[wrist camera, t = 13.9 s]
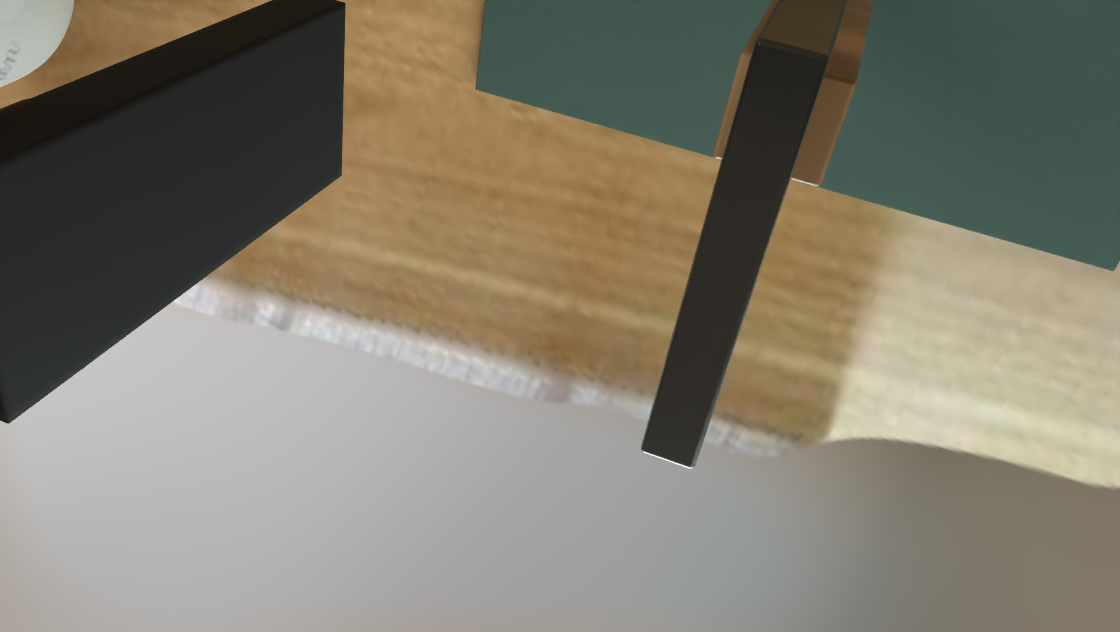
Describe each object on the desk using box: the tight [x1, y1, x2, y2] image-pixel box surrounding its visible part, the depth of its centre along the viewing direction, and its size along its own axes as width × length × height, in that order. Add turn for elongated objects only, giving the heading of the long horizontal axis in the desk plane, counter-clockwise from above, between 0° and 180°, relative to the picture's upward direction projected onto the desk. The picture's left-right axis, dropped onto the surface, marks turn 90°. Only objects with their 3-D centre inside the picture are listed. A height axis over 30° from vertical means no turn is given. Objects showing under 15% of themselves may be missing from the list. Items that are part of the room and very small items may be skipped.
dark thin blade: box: [641, 0, 873, 468], centre depth 19 cm, size 2×6×20 cm, turn 171°
